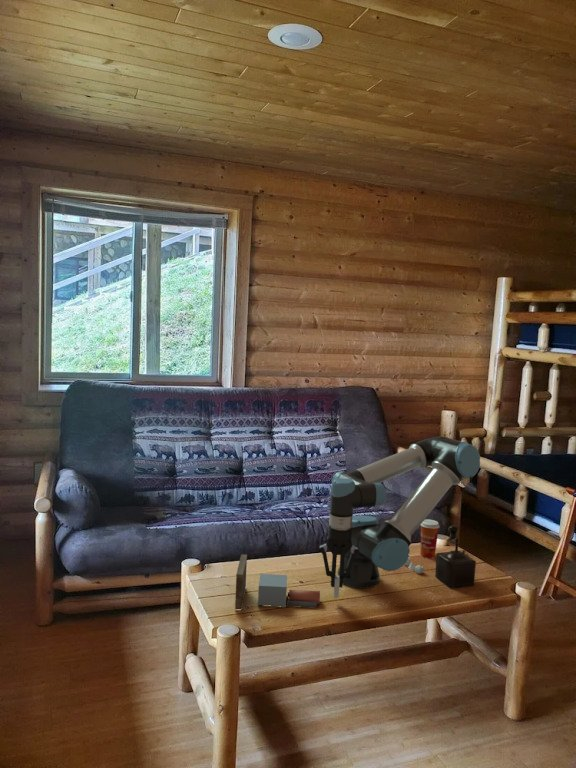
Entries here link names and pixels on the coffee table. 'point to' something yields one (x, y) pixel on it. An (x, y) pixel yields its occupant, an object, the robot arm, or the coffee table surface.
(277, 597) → the block
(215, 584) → the coffee table surface
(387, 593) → the coffee table surface
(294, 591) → the dowel
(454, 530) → the black joystick
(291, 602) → the rails
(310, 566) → the coffee table surface
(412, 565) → the game pieces
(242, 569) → the wall
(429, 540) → the paper cup
